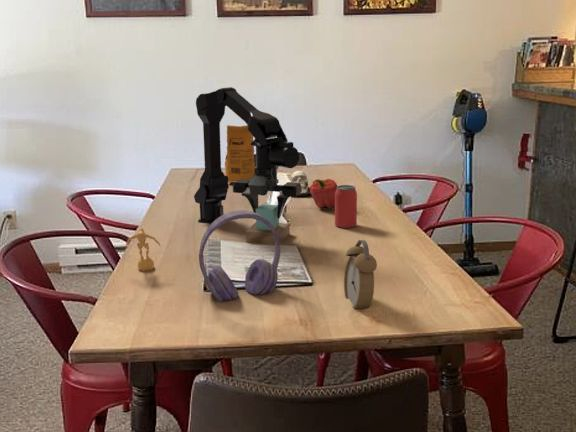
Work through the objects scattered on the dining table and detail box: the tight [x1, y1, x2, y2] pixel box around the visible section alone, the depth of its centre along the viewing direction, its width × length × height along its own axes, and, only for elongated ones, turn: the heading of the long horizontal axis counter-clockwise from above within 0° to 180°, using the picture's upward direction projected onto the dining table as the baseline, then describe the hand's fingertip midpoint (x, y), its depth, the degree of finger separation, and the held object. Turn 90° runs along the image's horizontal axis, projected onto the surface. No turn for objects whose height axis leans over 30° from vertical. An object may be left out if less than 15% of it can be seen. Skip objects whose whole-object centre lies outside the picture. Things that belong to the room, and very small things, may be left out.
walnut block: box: [245, 221, 291, 246], centre depth 181 cm, size 10×10×4 cm
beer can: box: [334, 184, 358, 229], centre depth 191 cm, size 7×7×12 cm
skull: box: [289, 170, 311, 196], centre depth 233 cm, size 12×10×10 cm
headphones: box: [198, 209, 281, 303], centre depth 139 cm, size 18×8×20 cm, turn 114°
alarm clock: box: [343, 239, 378, 310], centre depth 134 cm, size 11×5×15 cm, turn 11°
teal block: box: [255, 203, 280, 230], centre depth 180 cm, size 5×5×6 cm
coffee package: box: [224, 124, 256, 183], centre depth 252 cm, size 10×12×22 cm
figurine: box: [125, 227, 161, 272], centre depth 155 cm, size 8×6×12 cm
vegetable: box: [309, 178, 339, 209], centre depth 213 cm, size 11×10×10 cm
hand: (267, 217), depth 180 cm, fingers open, 6 cm apart
